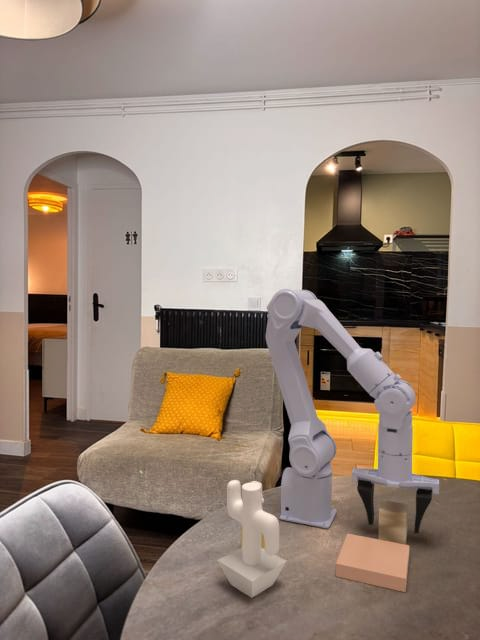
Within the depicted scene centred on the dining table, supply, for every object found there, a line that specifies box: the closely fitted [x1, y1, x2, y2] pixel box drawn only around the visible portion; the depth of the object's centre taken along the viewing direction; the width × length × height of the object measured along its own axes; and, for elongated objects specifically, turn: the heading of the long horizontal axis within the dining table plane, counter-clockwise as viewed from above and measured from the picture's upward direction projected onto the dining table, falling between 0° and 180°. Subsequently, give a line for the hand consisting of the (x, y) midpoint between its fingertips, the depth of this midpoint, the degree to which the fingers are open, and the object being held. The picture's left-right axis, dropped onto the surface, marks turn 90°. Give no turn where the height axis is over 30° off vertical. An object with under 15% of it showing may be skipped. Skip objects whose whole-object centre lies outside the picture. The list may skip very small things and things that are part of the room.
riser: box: [335, 533, 410, 593], centre depth 75 cm, size 10×10×2 cm
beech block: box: [377, 499, 409, 545], centre depth 84 cm, size 4×4×6 cm
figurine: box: [216, 479, 287, 599], centre depth 69 cm, size 7×9×15 cm
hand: (393, 526), depth 84 cm, fingers open, 7 cm apart
